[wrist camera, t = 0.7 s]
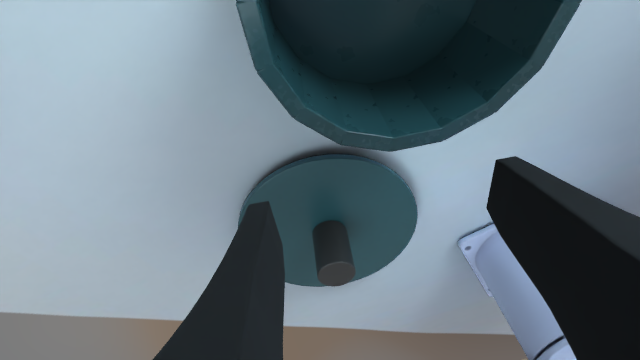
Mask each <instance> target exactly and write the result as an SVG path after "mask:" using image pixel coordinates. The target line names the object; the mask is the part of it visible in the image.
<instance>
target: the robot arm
mask: <svg viewBox="0 0 640 360" xmlns="http://www.w3.org/2000/svg"><path fill="white" fill-rule="evenodd" d="M487 210H488V212H489V214H490V216H491V218H492V220H493V223H494V224H492V225H490V226H488V227H485V228H483V229H481V230H479V231H477V232H475V233H472V234H470V235H468V236H466V237H464V238H462V239H460V240H459V241H458V246H459V247H460V249H461V251H462V252H463V254H464V256H465V257H466V259H467V261H468V263H469V264H470V266H471V268H472V269H473V271H474V273H475V274H476V276H477V278H478V279H479V281H480V283H481V284H482V286H483V288H484V289H485V291H486V293H487V294H488V296H489V297H494V299H495V300H496V302H497V304H498V306H499V307H500V309H501V311H502V313H503V315H504V316H505V318H506V320H507V322H508V324H509V325H510V327H511V329H512V331H513V332H514V334H515V336H516V338H517V340H518V341H519V343H520V345H521V347H522V349H523V350H524V352H525V354H526V356H527V358H528V359H529V360H640V217H638V216H636V215H633V214H631V213H629V212H626V211H624V210H622V209H620V208H618V207H615V206H613V205H611V204H609V203H607V202H605V201H602V200H600V199H598V198H596V197H594V196H592V195H590V194H588V193H586V192H584V191H582V190H580V189H578V188H576V187H574V186H572V185H570V184H568V183H566V182H565V181H563V180H561V179H559V178H557V177H555V176H553V175H551V174H549V173H547V172H546V171H544V170H542V169H540V168H538V167H536V166H534V165H532V164H530V163H528V162H526V161H524V160H522V159H520V158H518V157H516V156H515V157H509V158H504V159H498V160H496V162H495V167H494V172H493V177H492V182H491V187H490V192H489V197H488V203H487ZM284 288H285V268H284V255H283V244H282V241H281V238H280V235H279V232H278V228H277V225H276V222H275V219H274V216H273V213H272V210H271V206H270V203H269V201H265V202H259V203H254V204H250V205H249V206H248V207H247V209H246V212H245V214H244V216H243V219H242V221H241V223H240V225H239V228H238V230H237V232H236V234H235V236H234V238H233V240H232V242H231V244H230V246H229V248H228V250H227V252H226V254H225V256H224V258H223V260H222V262H221V263H220V265H219V267H218V268H217V270H216V272H215V274H214V275H213V277H212V279H211V280H210V282H209V284H208V286H207V287H206V289H205V290H204V292H203V293H202V295H201V297H200V298H199V300H198V301H197V303H196V304H195V305H194V307H193V308H192V310H191V311H190V313H189V314H188V315H187V317H186V318H185V320H184V321H183V322H182V324H181V325H180V326H179V328H178V329H177V330H176V332H175V333H174V334H173V336H172V337H171V338H170V340H169V341H168V342H167V343H166V344H165V346H164V347H163V348H162V350H161V351H160V352H159V353H158V354H157V355H156V356H155V358H154V359H153V360H283V317H284Z"/></svg>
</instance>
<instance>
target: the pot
mask: <svg viewBox="0 0 640 360" xmlns="http://www.w3.org/2000/svg"><path fill="white" fill-rule="evenodd" d="M236 1H237V2H236V6H237V10H238V13H239V16H240V20H241V23H242V26H243V30H244V33H245V37H246V40H247V43H248V47H249V50H250V53H251V57H252V60H253V64H254V67H255V69H256V71H257V73H258V75H259V76H260V77H261V79H262V80H263V81H264V82H265V84H266V85H267V86H268V87H269V89H270V90H271V91H272V92H273V94H274V95H275V96H276V97H277V99H278V100H279V101H280V103H281V104H282V105H283V106H284V108H285V109H286V110H287V111H288V113H289V114H290V115H291V116H292V117H293V118H294V119H295V120H297V121H298V122H300V123H302V124H304V125H306V126H307V127H309V128H311V129H313V130H315V131H316V132H318V133H320V134H322V135H324V136H325V137H327V138H329V139H331V140H332V141H334V142H336V143H338V144H340V145H344V146H351V147H359V148H366V149H374V150H381V151H388V152H390V151H397V150H402V149H407V148H412V147H417V146H422V145H427V144H432V143H436V142H441V141H443V140H446V139H448V138H450V137H451V136H453V135H455V134H457V133H459V132H461V131H462V130H464V129H466V128H468V127H470V126H472V125H473V124H475V123H477V122H479V121H481V120H483V119H484V118H486V117H488V116H490V115H492V114H493V113H494V112H497V111H498V110H499V109H500V108H501V107H502V106H503V105H504V104H505V103H506V102H507V101H508V100H509V99H510V98H511V97H512V96H513V95H514V94H515V93H516V92H517V91H518V90H519V89H521V88H522V87H523V86H524V85H525V84H526V83H527V82H528V81H529V80H530V79H531V78H532V77H533V76H534V75H535V74H536V73H537V72H538V71H539V70H540V69H541V68H542V66H543V65H544V64H545V62H546V60H547V59H548V57H549V55H550V54H551V52H552V50H553V49H554V47H555V45H556V44H557V42H558V40H559V39H560V37H561V35H562V34H563V32H564V30H565V29H566V27H567V25H568V24H569V22H570V20H571V19H572V17H573V15H574V14H575V12H576V10H577V9H578V7H579V5H580V2H581V1H582V0H236Z"/></svg>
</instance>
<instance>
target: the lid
mask: <svg viewBox="0 0 640 360" xmlns="http://www.w3.org/2000/svg"><path fill="white" fill-rule="evenodd" d="M265 201H269V203H270V206H271V210H272V213H273V216H274V219H275V222H276V225H277V228H278V232H279V235H280V238H281V241H282V244H283V255H284V268H285V282H287V283H290V284H295V285H301V286H313V287H322V286H341V285H344V284H346V283H349V282H352V281H355V280H359V279H361V278H364V277H366V276H369V275H371V274H373V273H375V272H377V271H379V270H380V269H382V268H383V267H385V266H386V265H388V264H389V263H390V262H392V261H393V260H394V259H395V258H396V257H397V256H398V255H399V254H400V253H401V252H402V251H403V250H404V248H405V247H406V246H407V244H408V243H409V241H410V239H411V238H412V235H413V233H414V231H415V227H416V223H417V206H416V202H415V199H414V196H413V194H412V192H411V190H410V188H409V187H408V185H407V184H406V183H405V181H404V180H403V179H402V178H401V177H400V176H399V175H398V174H397V173H396V172H394V171H393V170H391V169H390V168H388V167H387V166H385V165H383V164H381V163H379V162H377V161H374V160H371V159H368V158H365V157H360V156H354V155H344V154H330V155H320V156H314V157H309V158H305V159H302V160H298V161H296V162H293V163H290V164H288V165H286V166H284V167H282V168H280V169H278V170H276V171H274V172H273V173H272V174H270V175H269V176H267V177H266V178H265V179H263V180H262V181H261V182H260V183H259V184H258V185H257V186H256V187H255V188H254V189H253V190H252V192H251V193H250V194H249V196H248V197H247V199H246V201H245V202H244V204H243V207H242V209H241V212H240V216H239V222H238V228H239V225H240V223H241V221H242V219H243V216H244V214H245V212H246V209H247V207H248V206H249V205H250V204H254V203H259V202H265Z"/></svg>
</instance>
